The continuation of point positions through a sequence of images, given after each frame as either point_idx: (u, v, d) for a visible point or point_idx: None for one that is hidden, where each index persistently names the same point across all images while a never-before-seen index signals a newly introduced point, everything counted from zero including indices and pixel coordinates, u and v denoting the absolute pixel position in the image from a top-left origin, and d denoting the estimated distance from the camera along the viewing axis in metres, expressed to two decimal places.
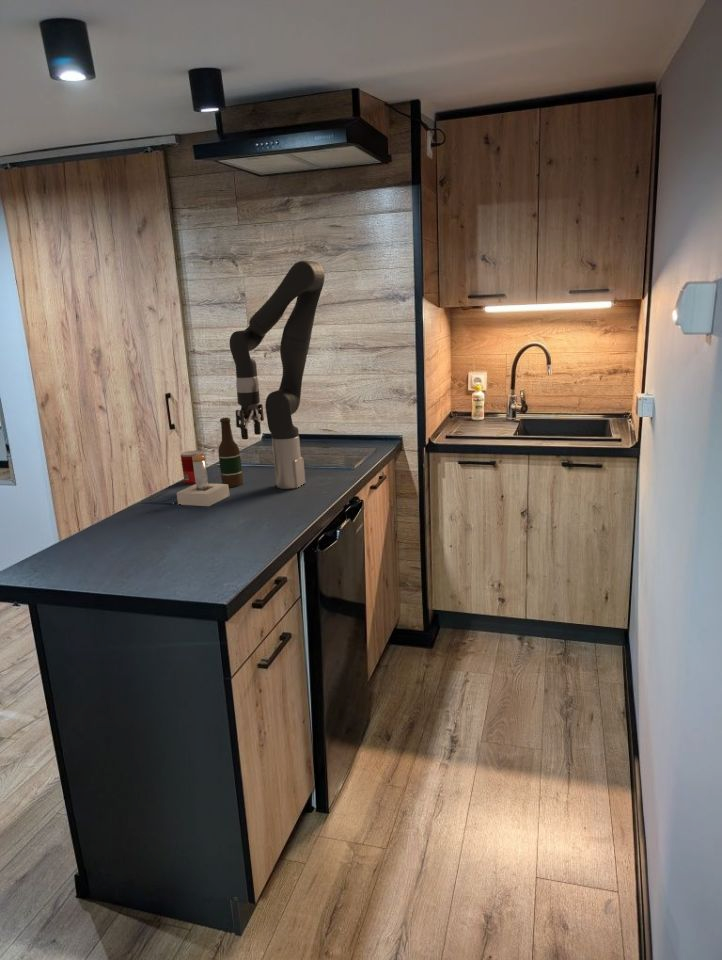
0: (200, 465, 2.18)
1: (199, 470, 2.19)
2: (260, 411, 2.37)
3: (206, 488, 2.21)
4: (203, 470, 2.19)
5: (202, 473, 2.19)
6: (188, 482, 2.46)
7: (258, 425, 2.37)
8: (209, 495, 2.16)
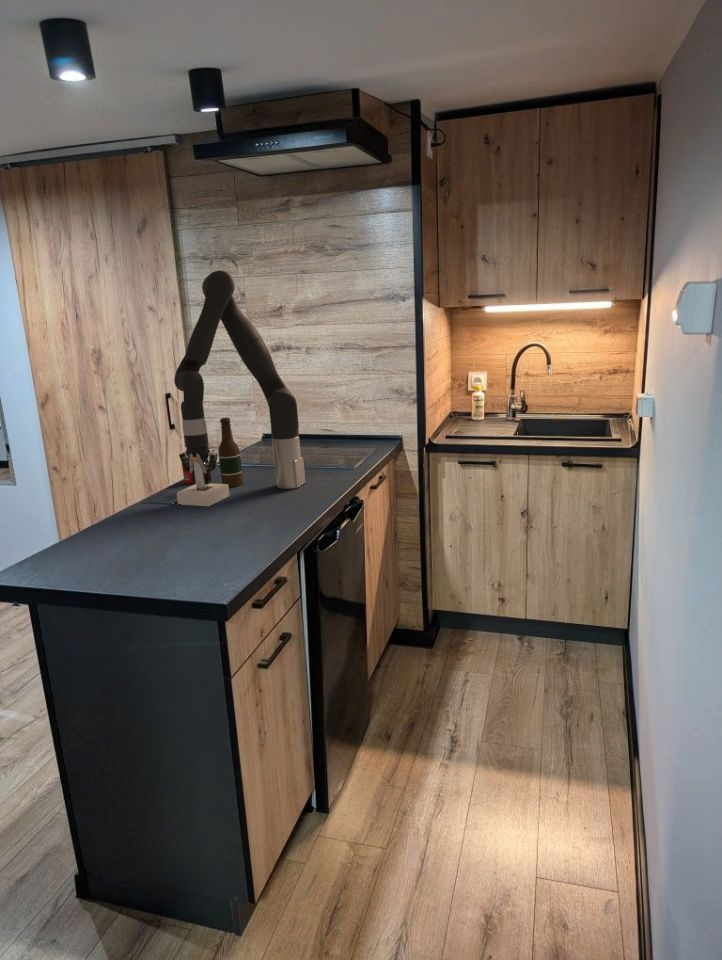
0: None
1: (199, 470, 2.19)
2: (187, 459, 2.23)
3: (206, 488, 2.21)
4: None
5: (202, 473, 2.19)
6: (188, 482, 2.46)
7: None
8: (209, 495, 2.16)
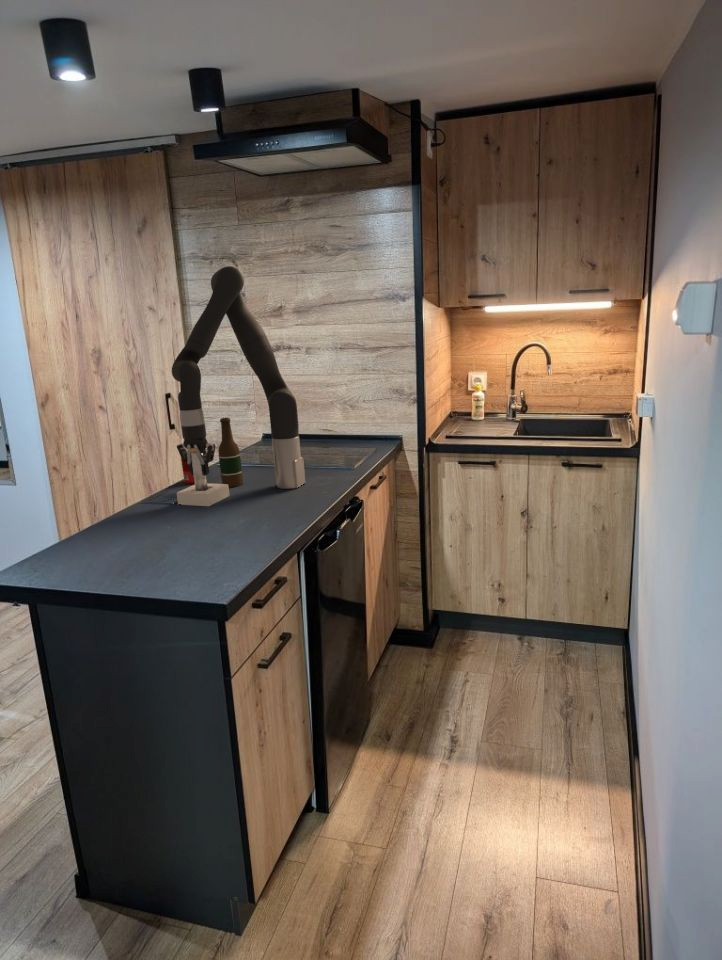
0: (197, 456, 2.17)
1: (197, 461, 2.17)
2: (185, 450, 2.21)
3: (204, 479, 2.20)
4: None
5: (199, 464, 2.18)
6: (188, 482, 2.46)
7: None
8: (209, 495, 2.16)
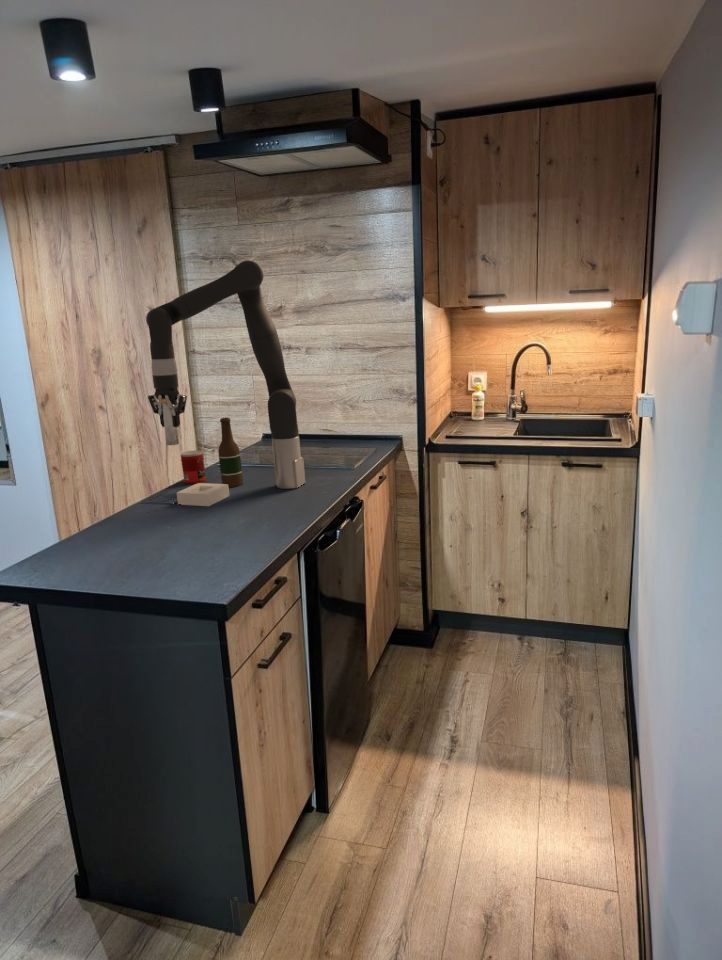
0: None
1: (168, 412, 2.15)
2: (157, 401, 2.18)
3: (175, 431, 2.17)
4: None
5: (170, 415, 2.15)
6: (188, 482, 2.46)
7: None
8: (209, 495, 2.16)
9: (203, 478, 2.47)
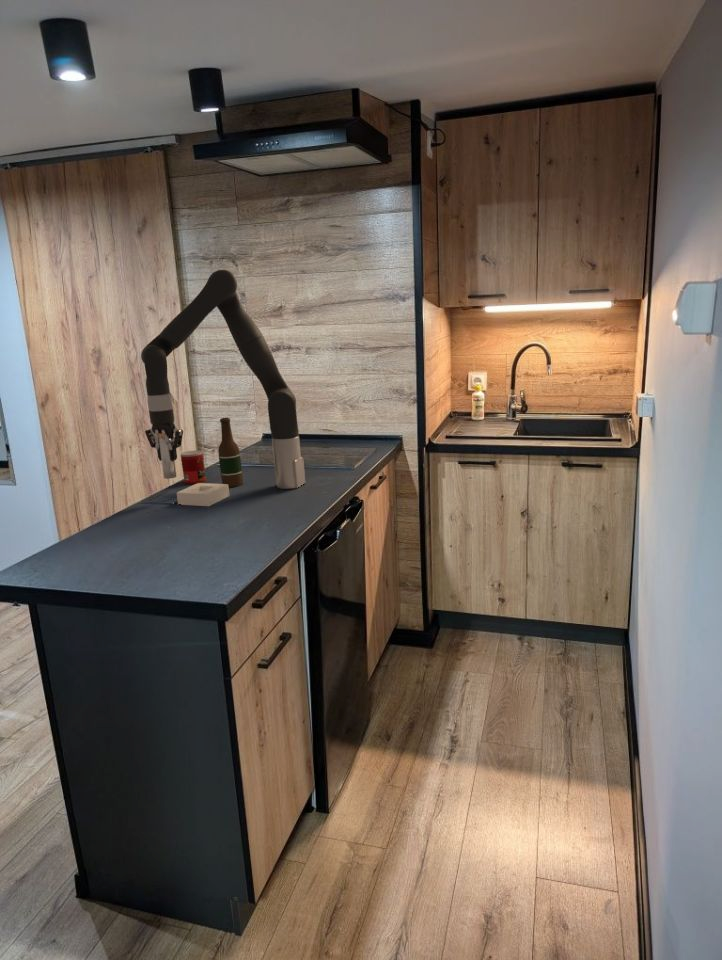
0: (165, 441, 2.17)
1: (165, 446, 2.18)
2: (154, 435, 2.22)
3: (172, 465, 2.20)
4: None
5: (167, 449, 2.18)
6: (188, 482, 2.46)
7: None
8: (209, 495, 2.16)
9: (203, 478, 2.47)
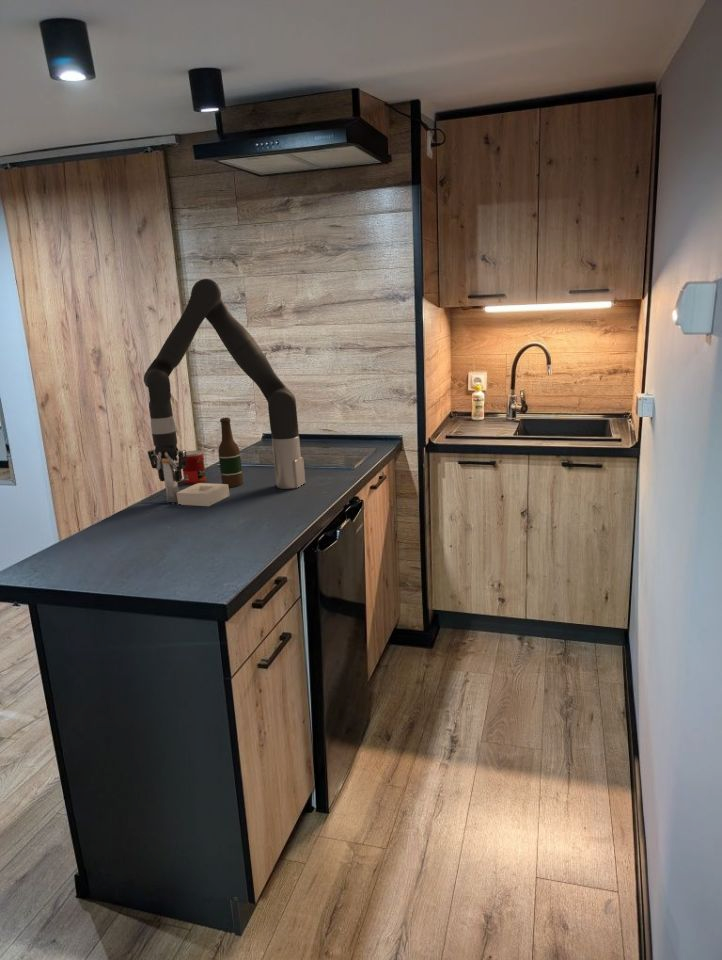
0: (169, 466, 2.19)
1: (168, 471, 2.20)
2: (156, 456, 2.23)
3: (175, 489, 2.22)
4: (172, 471, 2.20)
5: (171, 474, 2.20)
6: (188, 482, 2.46)
7: None
8: (209, 495, 2.16)
9: (203, 478, 2.47)
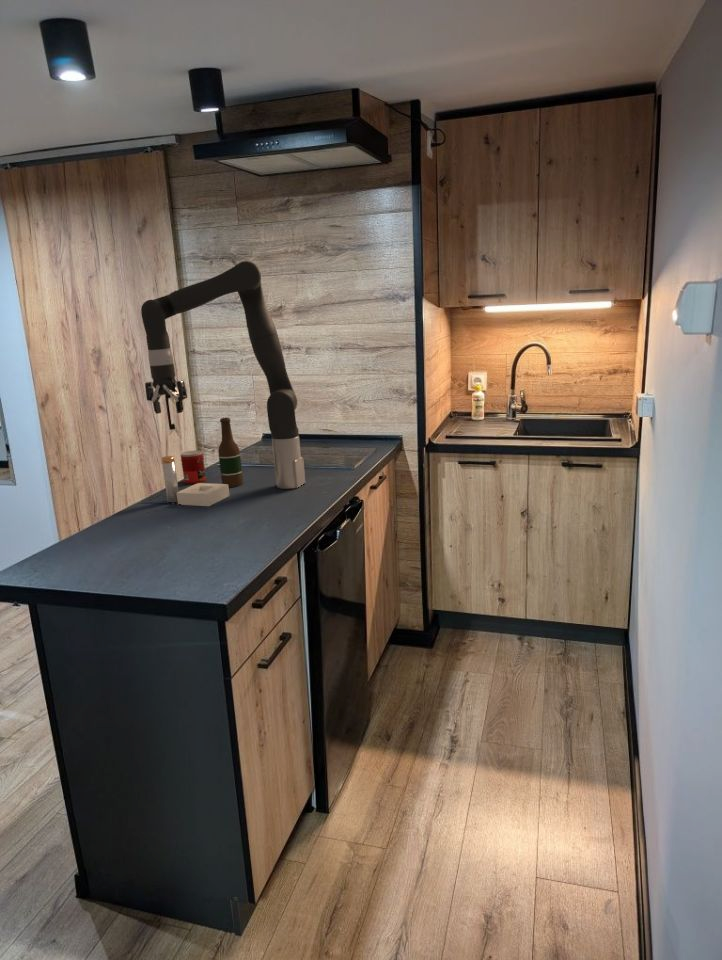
0: (169, 466, 2.20)
1: (168, 471, 2.20)
2: (152, 389, 2.23)
3: (175, 489, 2.22)
4: (172, 471, 2.20)
5: (171, 474, 2.20)
6: (188, 482, 2.46)
7: (159, 403, 2.24)
8: (209, 495, 2.16)
9: (203, 478, 2.47)
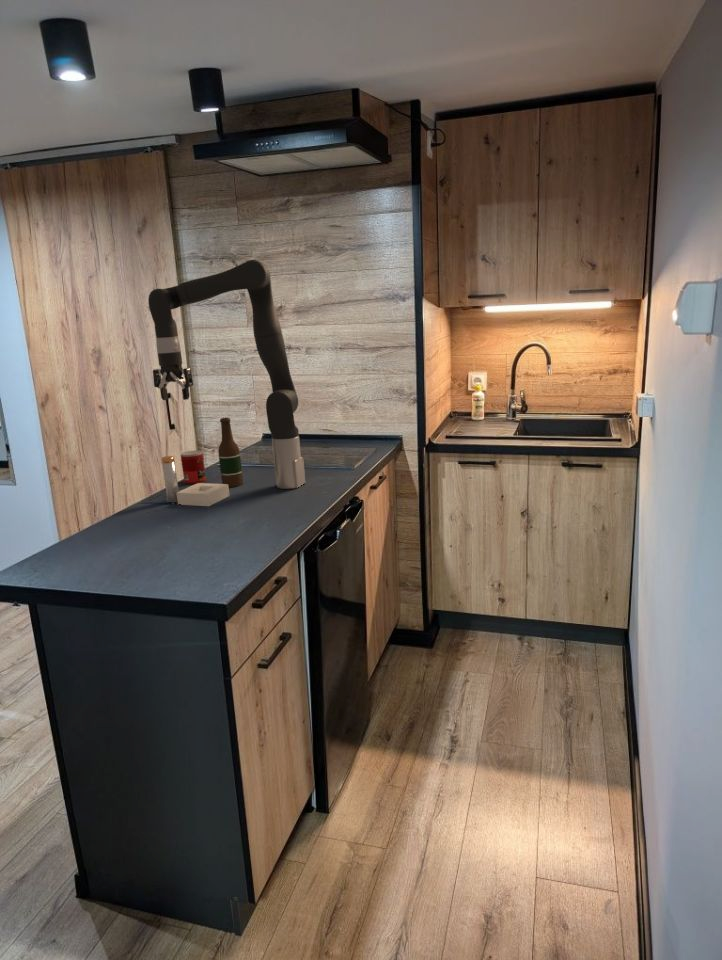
0: (169, 466, 2.19)
1: (168, 471, 2.20)
2: (160, 376, 2.29)
3: (175, 489, 2.22)
4: (172, 471, 2.20)
5: (171, 474, 2.20)
6: (188, 482, 2.46)
7: (166, 390, 2.30)
8: (209, 495, 2.16)
9: (203, 478, 2.47)
